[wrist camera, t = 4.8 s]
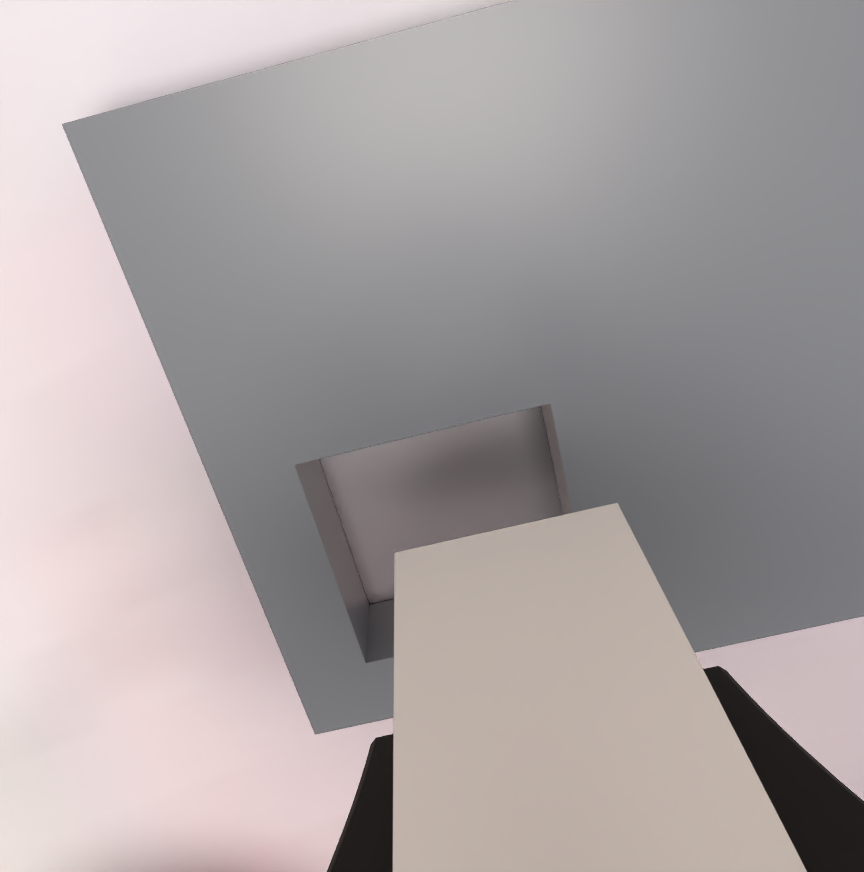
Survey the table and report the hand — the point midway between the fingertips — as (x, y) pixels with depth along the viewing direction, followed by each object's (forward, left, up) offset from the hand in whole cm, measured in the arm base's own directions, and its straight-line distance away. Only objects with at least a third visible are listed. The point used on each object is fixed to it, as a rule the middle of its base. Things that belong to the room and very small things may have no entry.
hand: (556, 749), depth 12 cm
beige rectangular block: (0, 0, -3) cm, 3 cm away
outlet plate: (+2, -2, -10) cm, 10 cm away
